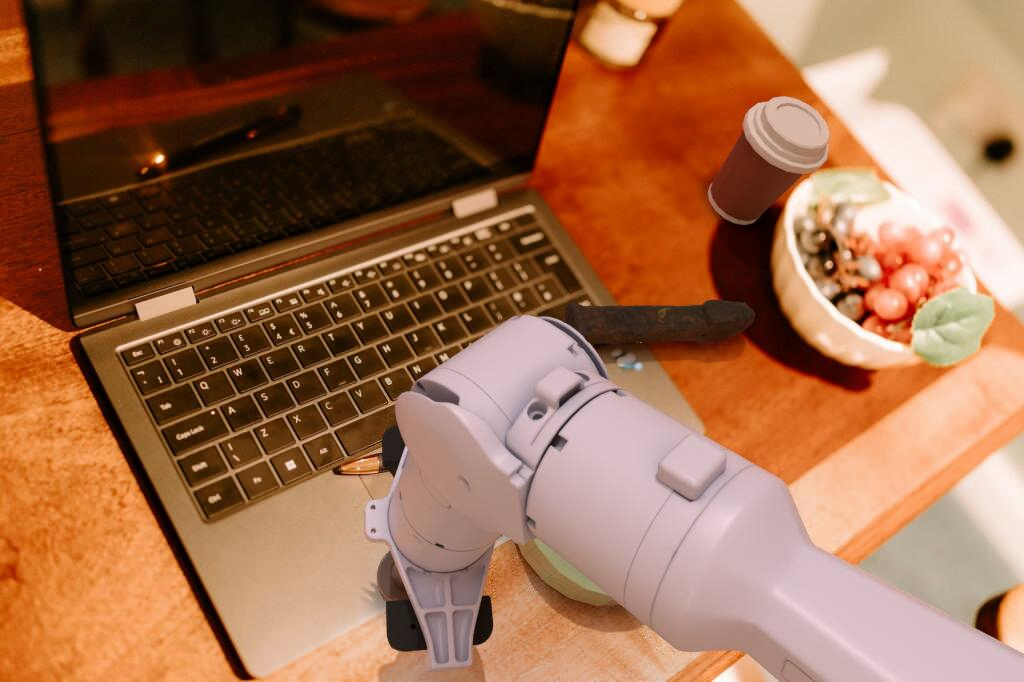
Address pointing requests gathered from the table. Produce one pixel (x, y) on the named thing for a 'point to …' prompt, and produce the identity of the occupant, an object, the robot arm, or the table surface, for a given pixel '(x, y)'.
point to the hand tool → (659, 322)
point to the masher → (390, 580)
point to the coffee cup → (769, 158)
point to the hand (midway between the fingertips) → (417, 556)
